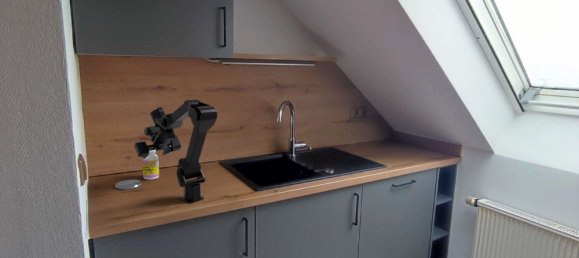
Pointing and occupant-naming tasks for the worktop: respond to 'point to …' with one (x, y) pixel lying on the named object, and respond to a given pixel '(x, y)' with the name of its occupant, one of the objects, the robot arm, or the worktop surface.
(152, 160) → the supplement bottle
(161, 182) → the worktop surface
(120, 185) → the steel plate
